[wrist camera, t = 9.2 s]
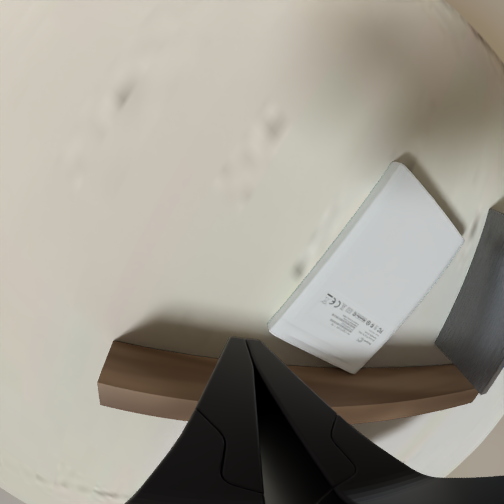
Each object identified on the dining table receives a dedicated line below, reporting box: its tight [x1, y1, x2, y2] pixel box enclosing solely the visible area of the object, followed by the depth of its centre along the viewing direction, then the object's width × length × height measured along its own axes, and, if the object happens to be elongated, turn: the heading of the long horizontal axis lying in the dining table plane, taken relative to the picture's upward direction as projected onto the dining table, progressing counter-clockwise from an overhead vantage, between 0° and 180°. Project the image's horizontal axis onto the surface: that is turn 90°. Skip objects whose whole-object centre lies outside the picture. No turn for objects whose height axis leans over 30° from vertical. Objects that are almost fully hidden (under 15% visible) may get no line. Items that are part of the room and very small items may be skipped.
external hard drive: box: [267, 161, 464, 374], centre depth 18 cm, size 2×8×12 cm
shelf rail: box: [97, 341, 479, 424], centre depth 19 cm, size 2×31×4 cm, turn 77°
